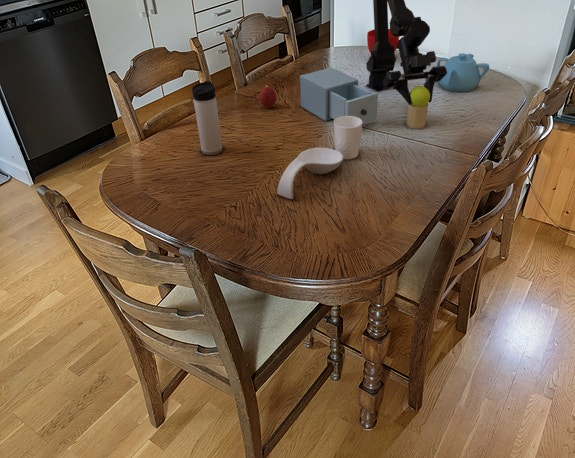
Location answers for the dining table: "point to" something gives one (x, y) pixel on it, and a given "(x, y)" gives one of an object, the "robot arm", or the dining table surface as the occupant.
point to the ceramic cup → (371, 39)
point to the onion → (267, 97)
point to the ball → (419, 96)
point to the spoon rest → (309, 167)
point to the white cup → (347, 136)
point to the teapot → (462, 73)
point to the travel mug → (207, 118)
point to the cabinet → (321, 89)
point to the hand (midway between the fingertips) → (420, 103)
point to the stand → (416, 116)
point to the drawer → (352, 103)
